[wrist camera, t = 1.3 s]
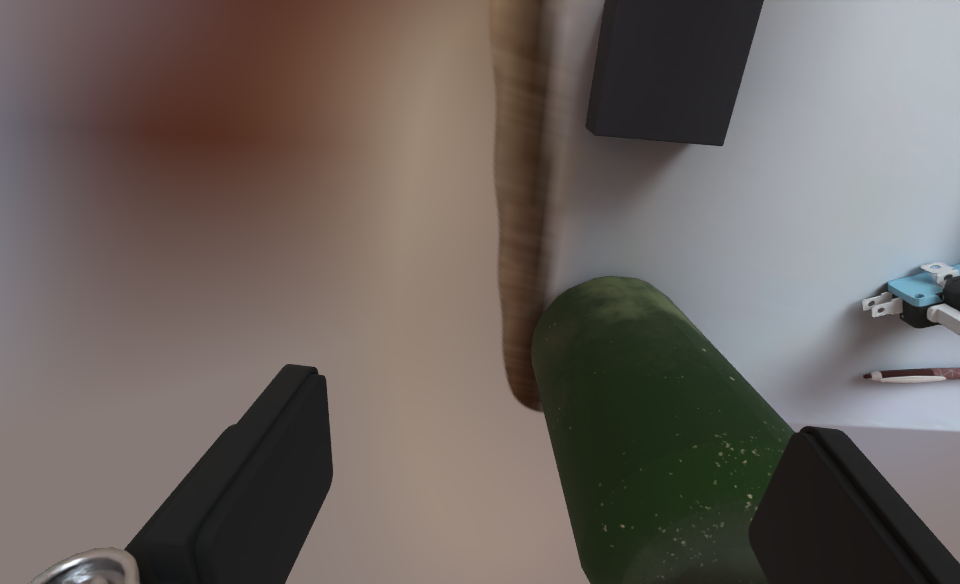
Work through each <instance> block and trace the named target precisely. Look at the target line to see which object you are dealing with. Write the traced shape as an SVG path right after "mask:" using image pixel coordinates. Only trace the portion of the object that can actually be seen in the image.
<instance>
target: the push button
mask: <svg viewBox="0 0 960 584" xmlns="http://www.w3.org/2000/svg"><path fill="white" fill-rule="evenodd" d="M932 266H939V267H941V268H938V269H932V268H930V267H932ZM921 269H923V270H925V271H927V272H925V273H921V274H917V275H913V276H909V277H905V278H901V279H897V280H893V281H890V282H888V292H885V293H881V296H877V297H873V298H869V299H865V300H863V301H862V310H864V311H866V310H870V309H871V312H872V317H878V316H882V315H886V314H891V315H895V314H899V313H900V319H901V320H903V321H904V322H906V323H907V324H909V325H911V326H912V327H914V328H926V327H930V326H934V325H943V326H945V327H947V328H948V329H950V330H952V331H953V332H955V333H957V334H958V335H960V263H959V264H957V265H953V266H948V265H946V264H944V263H941V262H933V263H929V264H926V265H922V266H921ZM870 301H874V305H872V306H868V303H869V302H870ZM879 308H882V309H883V308H884V311H883V312H881V313H878V309H879Z"/></svg>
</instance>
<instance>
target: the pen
mask: <svg viewBox="0 0 960 584" xmlns="http://www.w3.org/2000/svg"><path fill="white" fill-rule="evenodd" d="M863 377H864V378H866V379H868V378H869V379H871V380H875V381H881V382H897V383H914V382H930V381H940V380H946V379H960V368H928V369H908V370H888V371H874V372H872V373H869V374H865V375H863Z"/></svg>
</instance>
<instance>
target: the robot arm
mask: <svg viewBox="0 0 960 584" xmlns="http://www.w3.org/2000/svg"><path fill="white" fill-rule="evenodd" d="M328 412H329V411H328V398H327V386H326V378H325V376H323V375H319V374H318V371H317V369H316V368H315V367H310V366H301V365H293V364H287V365H285V366H284V367H283V368H282V369H281V371H280V372H279V373H278V374H277V375H276V377H275V378H274V379H273V380H272V382H271V383H270V384H269V385H268V386H267V388H266V389H265V390H264V392H263V393H262V394H261V395H260V396H259V397H258V398H257V400H256V401H255V402H254V403H253V405H252V406H251V407H250V408H249V409H248V411H247V412H246V413H245V414H244V415H243V417H242V418H241V419H240V420H239V422H238V423H237V424H234V425H232V426H230V427H228V428H227V429H226V430H225V431H224V432H223V433H222V434H221V435H220V436H219V438H218V439H217V440H216V441H215V442H214V444H213V445H212V446H211V447H210V448H209V449H208V451H207V452H206V453H205V454H204V455H203V457H202V458H201V459H200V460H199V461H198V462H197V464H196V465H195V466H194V467H193V468H192V470H191V471H190V472H189V473H188V474H187V475H186V477H185V478H184V479H183V480H182V481H181V483H180V484H179V485H178V486H177V487H176V489H175V490H174V491H173V492H172V493H171V495H170V496H169V497H168V498H167V499H166V500H165V502H164V503H163V504H162V505H161V506H160V508H159V509H158V510H157V511H156V512H155V513H154V515H153V516H152V517H151V518H150V519H149V521H148V522H147V523H146V524H145V525H144V527H143V528H142V529H141V530H140V531H139V533H138V534H137V535H136V536H135V537H134V538H133V540H132V541H131V542H130V543H129V544H128V546H127V547H126V548H125V549H124V550H121V549H117V548H113V547H110V548H95V549H91V550H88V551H84V552H81V553H77V554H75V555H72V556H70V557H68V558H66V559H64V560H62V561H60V562H58V563H56V564H54V565H53V566H51V567H50V568H48V569H47V570H45V571H44V572H42V573H41V574H39V575H38V576H36V577H35V578H34V579H33V580H32V581H31V582H30V583H29V584H285V582H286V580H287V578H288V576H289V573H290V572H291V569H292V567H293V565H294V563H295V561H296V559H297V557H298V554H299V552H300V550H301V548H302V546H303V544H304V542H305V540H306V538H307V535H308V533H309V531H310V529H311V527H312V525H313V523H314V521H315V519H316V516H317V514H318V512H319V510H320V508H321V506H322V504H323V501H324V500H325V498H326V495H327V493H328V491H329V489H330V486H331V482H332V477H333V465H332V452H331V439H330V425H329V413H328ZM748 537H749V542H750V545H751V548H752V550H753V552H754V554H755V556H756V558H757V560H758V563H759V565H760V567H761V569H762V571H763V573H764V575H765V577H766V580H767V582H768V584H960V564H959V562H958V561H957V560H956V559H955V558H954V557H953V556H952V554H951V553H950V552H949V551H948V550H947V549H946V548H945V546H944V545H943V544H942V543H941V542H940V541H939V540H938V539H937V537H936V536H935V535H934V534H933V533H932V532H931V530H929V528H928V527H927V526H926V525H925V524H924V523H923V521H922V520H921V519H920V518H919V517H918V516H917V515H916V513H915V512H914V511H913V510H912V509H911V508H910V507H909V505H908V504H907V503H906V502H905V501H904V500H903V499H902V498H901V496H900V495H899V494H898V493H897V492H896V491H895V489H894V488H893V487H892V486H891V485H890V484H889V483H888V481H887V480H886V479H885V478H884V477H883V476H882V475H881V474H880V472H879V471H878V470H877V469H876V468H875V467H874V466H873V464H872V463H871V462H870V461H869V460H868V459H867V458H866V456H865V455H864V454H863V453H862V452H861V451H860V450H859V448H858V447H857V446H856V445H855V444H854V443H853V442H852V440H851V439H850V438H849V437H848V436H847V435H846V434H845V433H844V432H842V431H840V430H837V429H829V428H820V427H812V426H806V427H804V428H802V429H801V430H800V432H798V433H794V434H793V435H792V436H791V437H790V439H789V442H788V444H787V446H786V448H785V450H784V452H783V454H782V457H781V459H780V461H779V463H778V465H777V467H776V469H775V471H774V474H773V476H772V478H771V480H770V482H769V484H768V486H767V489H766V491H765V493H764V495H763V497H762V499H761V501H760V504H759V506H758V508H757V510H756V512H755V514H754V516H753V519H752V521H751V523H750V525H749V530H748Z"/></svg>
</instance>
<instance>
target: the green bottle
mask: <svg viewBox="0 0 960 584" xmlns="http://www.w3.org/2000/svg"><path fill="white" fill-rule="evenodd" d="M531 359H532V365H533V369H534V373H535V377H536V382H537V386H538V390H539V394H540V398H541V402H542V406H543V410H544V415H545V419H546V422H547V427H548V431H549V435H550V439H551V443H552V447H553V451H554V456H555V459H556V464H557V468H558V472H559V476H560V480H561V484H562V489H563V493H564V497H565V501H566V505H567V509H568V513H569V517H570V522H571V526H572V529H573V534H574V538H575V542H576V546H577V550H578V554H579V559H580V562H581V567H582V569H583V571H584V572H585V574H586V576H587V578H588V580H589V582H590V584H768V582H767V580H766V577H765V575H764V573H763V571H762V569H761V567H760V565H759V563H758V560H757V558H756V556H755V554H754V552H753V550H752V548H751V545H750V542H749V537H748V530H749V525H750V523H751V521H752V519H753V516H754V514H755V512H756V510H757V508H758V506H759V504H760V501H761V499H762V497H763V495H764V493H765V491H766V489H767V486H768V484H769V482H770V480H771V478H772V476H773V474H774V471H775V469H776V467H777V465H778V463H779V461H780V459H781V457H782V454H783V452H784V450H785V448H786V446H787V444H788V442H789V439H790V437H791V436H792V435H793V434H794V433H795V432H794V431H793V430H792V429H791V427H789V425H788V424H787V423H786V422H785V421H784V420H783V419H782V418H781V417H780V416H779V415H778V414H777V413H776V412H775V410H774V409H773V408H772V407H771V406H770V405H769V404H768V403H767V402H766V401H765V400H764V399H763V398H762V397H761V396H760V395H759V393H758V392H757V391H756V390H755V389H754V388H753V387H752V386H751V385H750V384H749V383H748V382H747V381H746V380H745V379H744V378H743V376H742V375H741V374H740V373H739V372H738V371H737V370H736V369H735V368H734V367H733V366H732V365H731V364H730V363H729V362H728V360H727V359H726V358H725V357H724V356H723V355H722V354H721V353H720V352H719V351H718V350H717V349H716V348H715V347H714V346H713V345H712V343H711V342H710V341H709V340H708V339H707V338H706V337H705V336H704V335H703V334H702V333H701V332H700V331H699V330H698V329H697V328H696V326H695V325H694V324H693V323H692V322H691V321H690V320H689V319H688V318H687V317H686V316H685V315H684V314H683V313H682V312H681V311H680V309H679V308H678V307H677V306H676V305H675V304H674V303H673V302H672V301H671V300H670V299H669V298H668V297H667V296H666V295H664V294H663V293H662V292H660V291H659V290H658V289H656V288H655V287H653V286H652V285H651V284H649V283H647V282H645V281H642V280H639V279H636V278H626V277H614V276H607V277H600V278H594V279H592V280H590V281H587V282H585V283H582V284H580V285H577V286H575V287H573V288H570V289H568V290H567V291H565V292H564V293H563V294H561V295H560V296H558V297H557V298H556V299H555V300H554V302H553V303H552V304H551V305H550V306H549V307H548V309H547V310H546V311H545V312H544V313H543V314H542V316H541V317H540V318H539V320H538V322H537V325H536V327H535V329H534V334H533V340H532V346H531Z"/></svg>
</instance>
